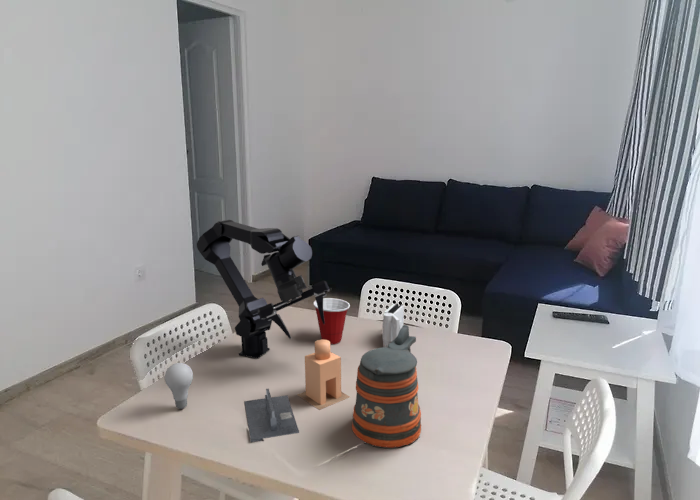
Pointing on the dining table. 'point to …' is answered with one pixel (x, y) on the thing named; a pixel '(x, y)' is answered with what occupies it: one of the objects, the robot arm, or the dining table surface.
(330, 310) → the plastic cup
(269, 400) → the grey finned plate
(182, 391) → the lightbulb
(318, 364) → the arched stamp block
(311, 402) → the thin square tan tile
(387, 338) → the white box
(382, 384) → the beer stein
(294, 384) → the dining table surface
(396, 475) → the dining table surface
